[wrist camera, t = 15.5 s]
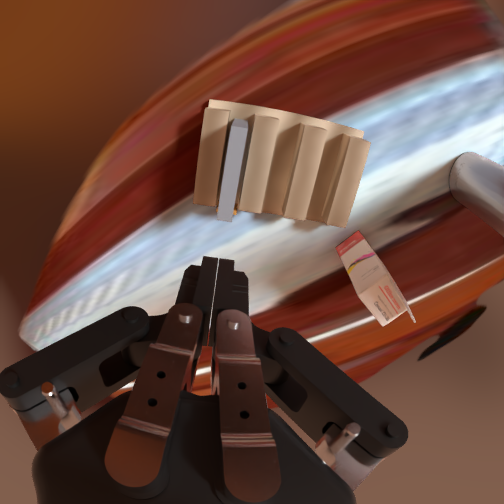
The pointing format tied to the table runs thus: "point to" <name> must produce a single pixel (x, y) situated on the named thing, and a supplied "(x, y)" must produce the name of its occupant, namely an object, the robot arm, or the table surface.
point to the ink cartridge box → (372, 280)
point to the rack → (282, 163)
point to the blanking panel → (232, 169)
